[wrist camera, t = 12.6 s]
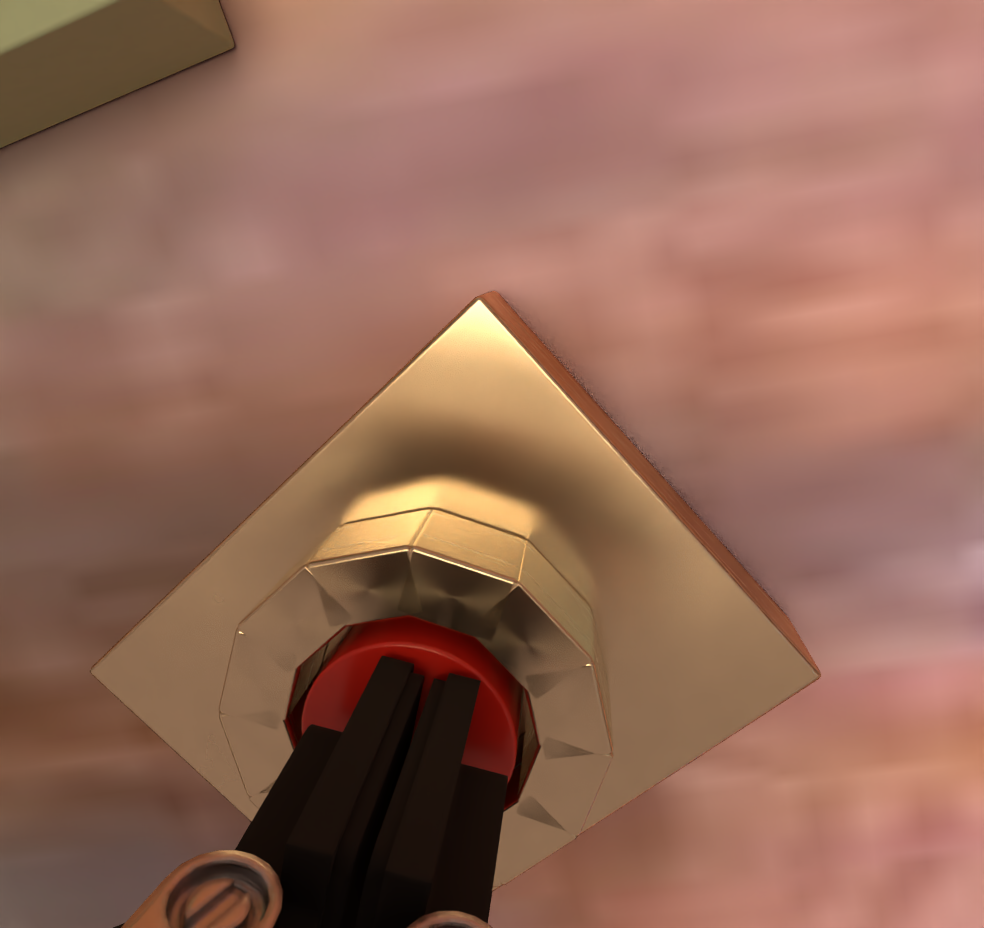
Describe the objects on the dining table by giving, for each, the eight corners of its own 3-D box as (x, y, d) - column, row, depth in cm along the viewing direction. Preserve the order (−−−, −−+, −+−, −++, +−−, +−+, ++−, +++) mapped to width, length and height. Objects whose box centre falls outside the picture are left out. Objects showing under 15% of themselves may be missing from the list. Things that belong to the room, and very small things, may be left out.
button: (426, 795, 14) (406, 867, 12) (296, 669, 14) (256, 725, 12) (565, 695, 13) (563, 759, 11) (429, 555, 13) (407, 600, 11)
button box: (416, 874, 18) (372, 1044, 14) (147, 620, 17) (19, 727, 13) (790, 618, 15) (863, 743, 11) (494, 288, 14) (462, 298, 10)
